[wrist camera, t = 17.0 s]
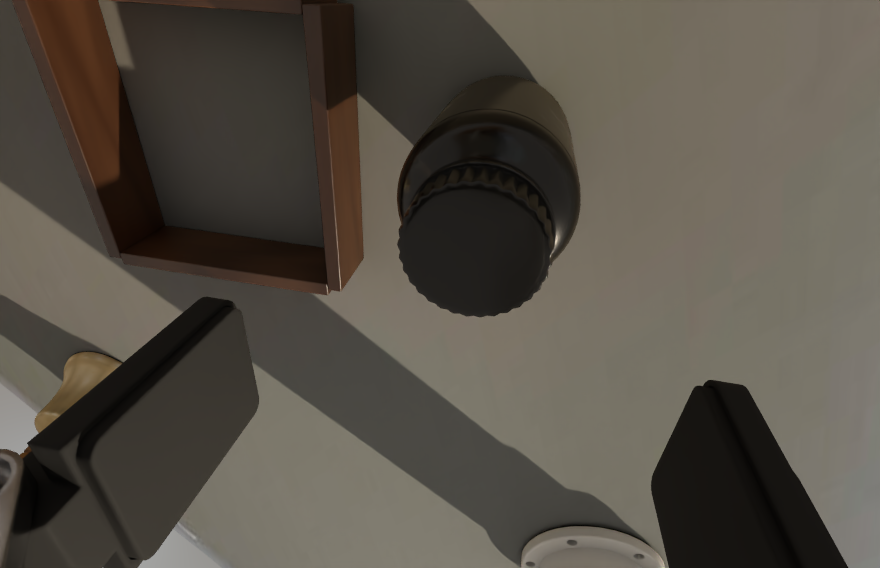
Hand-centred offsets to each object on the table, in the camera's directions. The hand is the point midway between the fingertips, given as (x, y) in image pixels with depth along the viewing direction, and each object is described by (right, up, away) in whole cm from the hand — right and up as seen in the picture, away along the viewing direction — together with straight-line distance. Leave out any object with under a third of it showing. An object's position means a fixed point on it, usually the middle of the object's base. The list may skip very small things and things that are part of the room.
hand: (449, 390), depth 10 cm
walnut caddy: (-12, +11, +17) cm, 23 cm away
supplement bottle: (+3, +10, +14) cm, 17 cm away
